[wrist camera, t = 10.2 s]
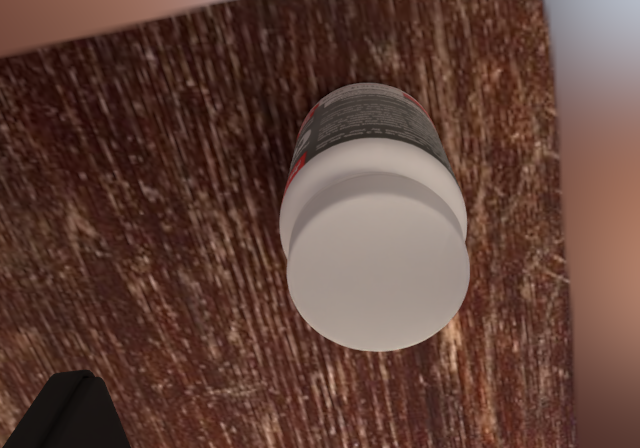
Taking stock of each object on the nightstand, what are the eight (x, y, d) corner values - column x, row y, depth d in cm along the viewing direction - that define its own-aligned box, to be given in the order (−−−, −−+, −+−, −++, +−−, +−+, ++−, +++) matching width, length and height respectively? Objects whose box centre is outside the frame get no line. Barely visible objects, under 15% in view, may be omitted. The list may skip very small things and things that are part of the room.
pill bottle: (285, 92, 20) (245, 192, 13) (430, 69, 20) (480, 160, 12) (309, 221, 22) (288, 374, 15) (442, 204, 22) (491, 354, 14)
